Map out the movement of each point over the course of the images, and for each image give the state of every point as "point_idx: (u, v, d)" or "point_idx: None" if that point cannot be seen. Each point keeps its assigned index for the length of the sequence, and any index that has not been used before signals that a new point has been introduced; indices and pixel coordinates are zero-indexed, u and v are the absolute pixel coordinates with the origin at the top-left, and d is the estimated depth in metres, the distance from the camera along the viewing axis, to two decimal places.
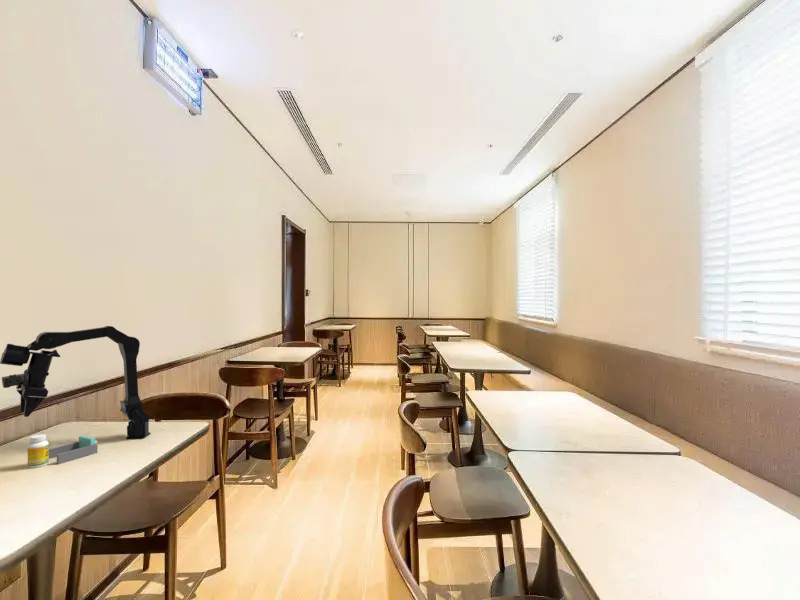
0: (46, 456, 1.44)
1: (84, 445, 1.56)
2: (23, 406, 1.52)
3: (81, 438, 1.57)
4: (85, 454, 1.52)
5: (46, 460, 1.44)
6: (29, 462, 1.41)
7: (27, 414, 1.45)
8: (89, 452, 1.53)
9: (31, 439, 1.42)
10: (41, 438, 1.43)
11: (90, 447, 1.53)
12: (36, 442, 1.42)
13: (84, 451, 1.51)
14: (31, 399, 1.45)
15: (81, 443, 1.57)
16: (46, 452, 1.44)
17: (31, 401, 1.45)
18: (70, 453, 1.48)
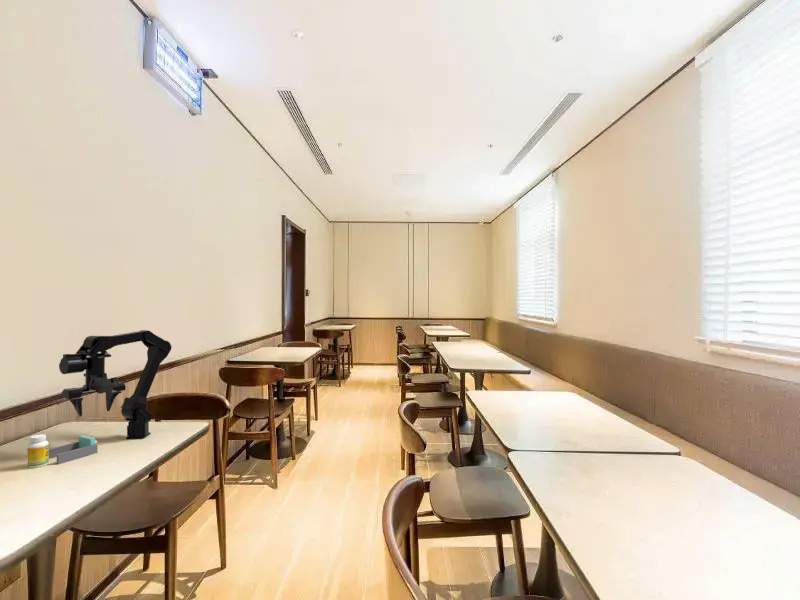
0: (46, 456, 1.44)
1: (84, 445, 1.56)
2: None
3: (81, 438, 1.57)
4: (85, 454, 1.52)
5: (46, 460, 1.44)
6: (29, 462, 1.41)
7: None
8: (89, 452, 1.53)
9: (31, 439, 1.42)
10: (41, 438, 1.43)
11: (90, 447, 1.53)
12: (36, 442, 1.42)
13: (84, 451, 1.51)
14: None
15: (81, 443, 1.57)
16: (46, 452, 1.44)
17: None
18: (70, 453, 1.48)
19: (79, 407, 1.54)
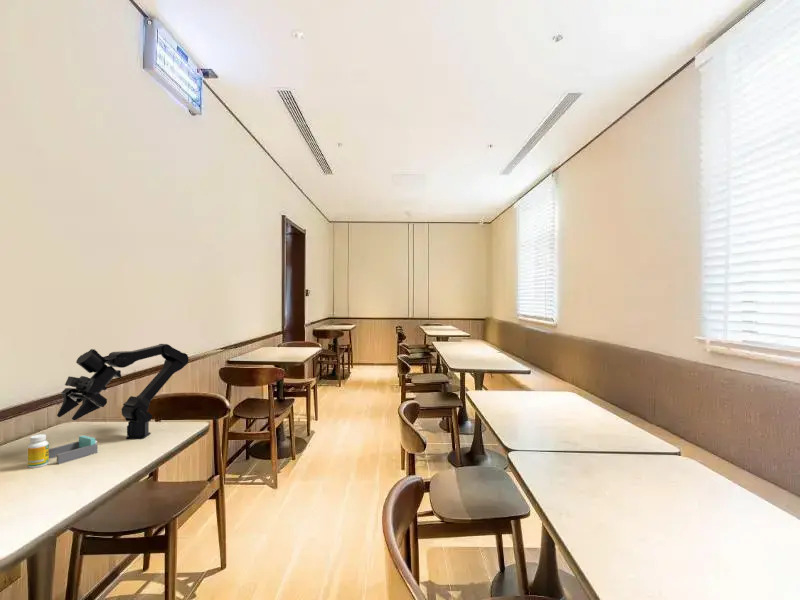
0: (46, 456, 1.44)
1: (84, 445, 1.56)
2: (62, 411, 1.54)
3: (81, 438, 1.57)
4: (85, 454, 1.52)
5: (46, 460, 1.44)
6: (29, 462, 1.41)
7: (75, 418, 1.49)
8: (89, 452, 1.53)
9: (31, 439, 1.42)
10: (41, 438, 1.43)
11: (90, 447, 1.53)
12: (36, 442, 1.42)
13: (84, 451, 1.51)
14: (87, 405, 1.52)
15: (81, 443, 1.57)
16: (46, 452, 1.44)
17: (86, 407, 1.51)
18: (70, 453, 1.48)
19: (62, 405, 1.55)
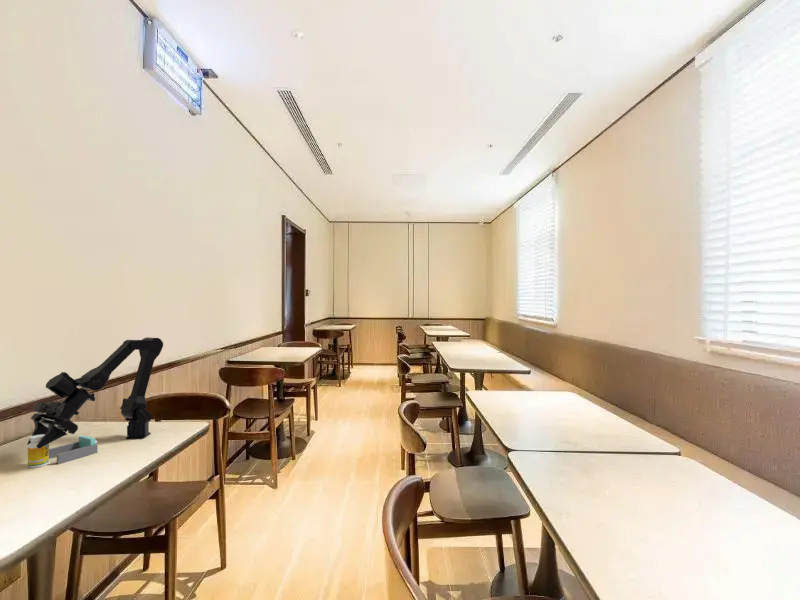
0: (46, 456, 1.44)
1: (84, 445, 1.56)
2: None
3: (81, 438, 1.57)
4: (85, 454, 1.52)
5: (46, 460, 1.44)
6: (29, 462, 1.41)
7: (40, 445, 1.41)
8: (89, 452, 1.53)
9: (31, 439, 1.42)
10: (41, 438, 1.43)
11: (90, 447, 1.53)
12: (36, 442, 1.42)
13: (84, 451, 1.51)
14: (53, 431, 1.44)
15: (81, 443, 1.57)
16: (46, 452, 1.44)
17: (52, 433, 1.44)
18: (70, 453, 1.48)
19: (33, 433, 1.45)
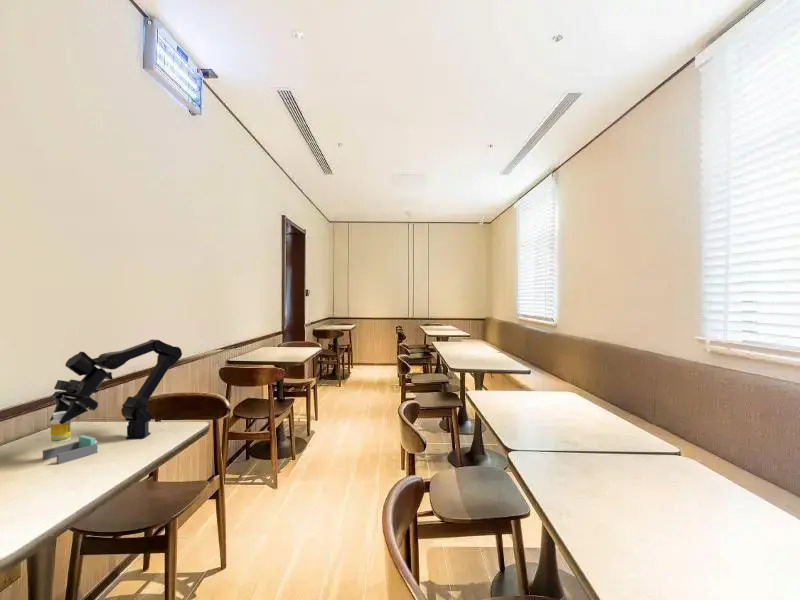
0: (68, 432, 1.49)
1: (84, 445, 1.56)
2: None
3: (81, 438, 1.57)
4: (85, 454, 1.52)
5: (68, 435, 1.49)
6: (52, 437, 1.47)
7: (63, 421, 1.47)
8: (89, 452, 1.53)
9: (54, 415, 1.47)
10: (63, 414, 1.48)
11: (90, 447, 1.53)
12: (59, 418, 1.48)
13: (84, 451, 1.51)
14: (75, 408, 1.50)
15: (81, 443, 1.57)
16: (68, 428, 1.49)
17: (74, 410, 1.49)
18: (70, 453, 1.48)
19: (55, 410, 1.51)
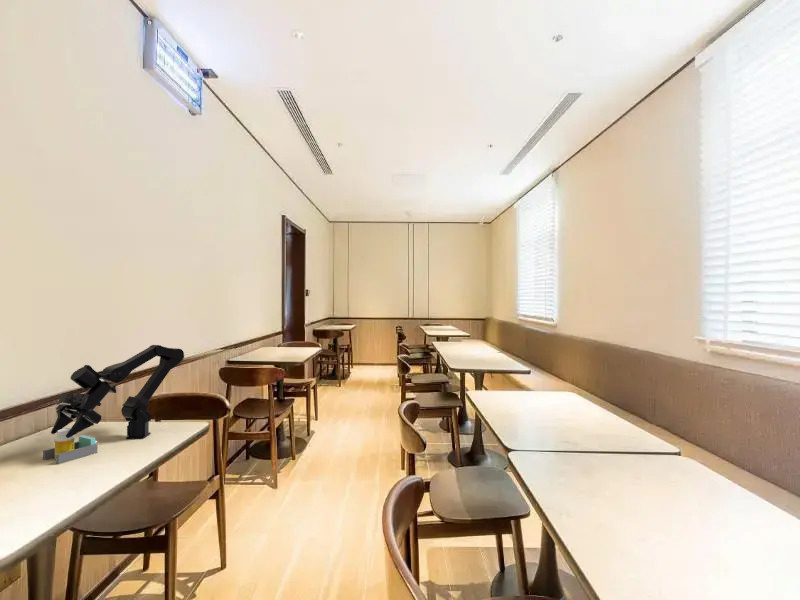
0: (72, 449, 1.50)
1: (84, 445, 1.56)
2: (56, 428, 1.52)
3: (81, 438, 1.57)
4: (85, 454, 1.52)
5: None
6: (56, 454, 1.48)
7: (69, 435, 1.47)
8: (89, 452, 1.53)
9: (58, 432, 1.49)
10: (67, 432, 1.50)
11: (90, 447, 1.53)
12: (63, 436, 1.49)
13: (84, 451, 1.51)
14: (81, 422, 1.50)
15: (81, 443, 1.57)
16: (72, 445, 1.50)
17: (80, 424, 1.50)
18: (70, 453, 1.48)
19: (56, 422, 1.53)
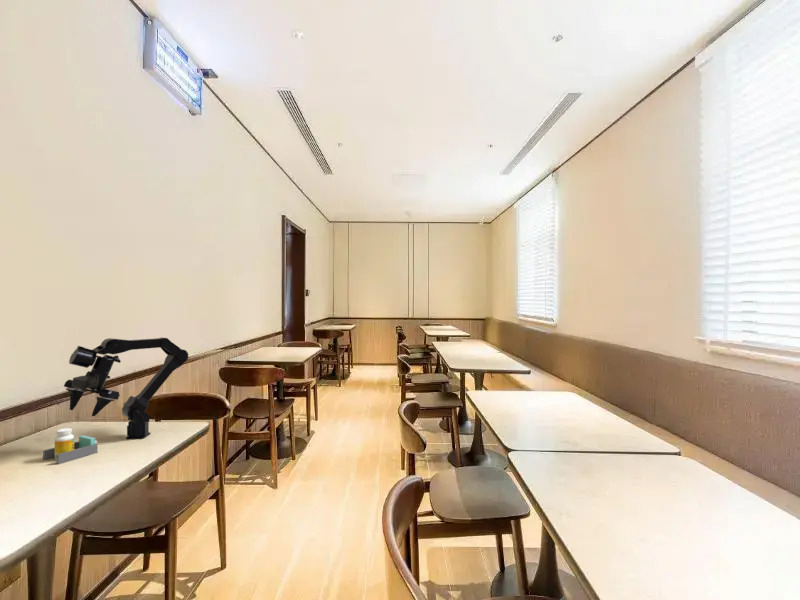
0: (72, 449, 1.50)
1: (84, 445, 1.56)
2: (73, 405, 1.60)
3: (81, 438, 1.57)
4: (85, 454, 1.52)
5: None
6: (56, 454, 1.48)
7: (95, 414, 1.59)
8: (89, 452, 1.53)
9: (58, 433, 1.48)
10: (67, 432, 1.49)
11: (90, 447, 1.53)
12: (63, 436, 1.49)
13: (84, 451, 1.51)
14: (102, 400, 1.60)
15: (81, 443, 1.57)
16: (72, 445, 1.50)
17: (101, 402, 1.60)
18: (70, 453, 1.48)
19: (70, 399, 1.60)
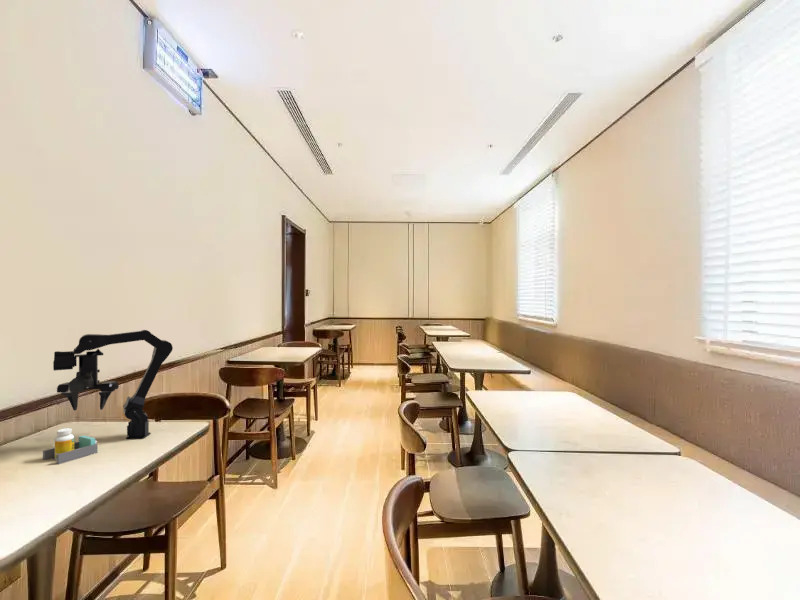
0: (72, 449, 1.50)
1: (84, 445, 1.56)
2: (75, 405, 1.63)
3: (81, 438, 1.57)
4: (85, 454, 1.52)
5: None
6: (56, 454, 1.48)
7: (102, 407, 1.65)
8: (89, 452, 1.53)
9: (58, 433, 1.48)
10: (67, 432, 1.49)
11: (90, 447, 1.53)
12: (63, 436, 1.49)
13: (84, 451, 1.51)
14: (104, 394, 1.64)
15: (81, 443, 1.57)
16: (72, 445, 1.50)
17: (104, 395, 1.65)
18: (70, 453, 1.48)
19: (70, 401, 1.62)
